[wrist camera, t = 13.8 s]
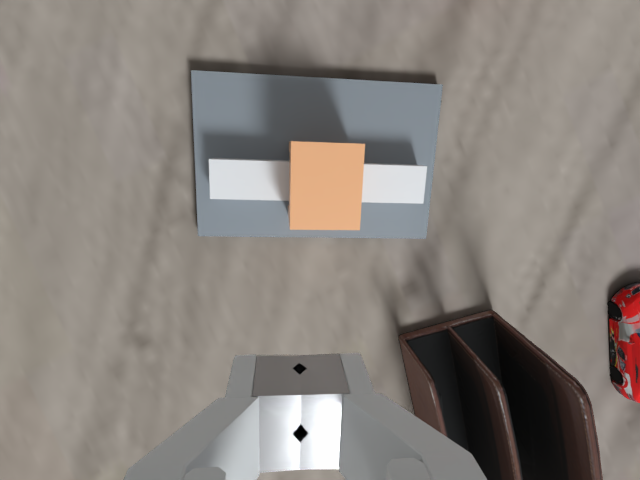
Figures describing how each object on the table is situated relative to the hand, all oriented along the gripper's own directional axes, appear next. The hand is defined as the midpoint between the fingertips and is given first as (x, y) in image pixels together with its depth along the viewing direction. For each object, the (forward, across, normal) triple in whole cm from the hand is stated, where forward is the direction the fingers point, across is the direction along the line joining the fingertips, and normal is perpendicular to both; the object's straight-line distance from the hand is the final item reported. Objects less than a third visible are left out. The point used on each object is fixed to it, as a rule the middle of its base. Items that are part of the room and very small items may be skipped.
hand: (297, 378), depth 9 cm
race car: (+26, -37, +13) cm, 47 cm away
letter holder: (+25, -19, +21) cm, 38 cm away
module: (+24, -3, -2) cm, 24 cm away
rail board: (+25, -3, -4) cm, 25 cm away
